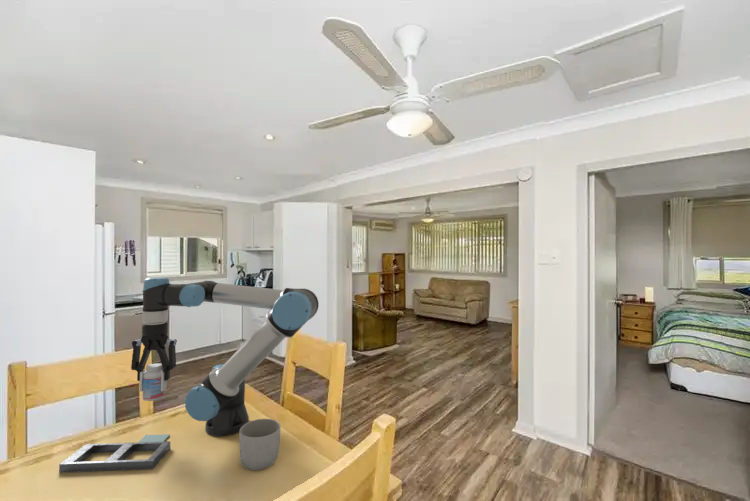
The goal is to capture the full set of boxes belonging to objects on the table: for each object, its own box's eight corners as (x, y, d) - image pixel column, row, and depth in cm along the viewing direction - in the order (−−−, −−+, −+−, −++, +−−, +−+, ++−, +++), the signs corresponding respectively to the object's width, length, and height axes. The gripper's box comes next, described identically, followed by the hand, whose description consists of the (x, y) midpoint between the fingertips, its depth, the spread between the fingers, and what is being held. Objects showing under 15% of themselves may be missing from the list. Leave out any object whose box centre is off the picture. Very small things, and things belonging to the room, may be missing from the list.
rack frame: (170, 448, 117) (170, 441, 117) (152, 469, 106) (153, 460, 106) (85, 451, 114) (86, 443, 114) (59, 472, 103) (59, 464, 103)
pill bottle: (153, 402, 117) (154, 368, 117) (138, 400, 118) (139, 367, 118) (167, 395, 123) (168, 363, 123) (152, 393, 124) (153, 361, 124)
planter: (237, 455, 114) (238, 422, 114) (276, 448, 118) (277, 415, 119) (239, 478, 102) (240, 441, 102) (282, 469, 107) (283, 433, 107)
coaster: (169, 435, 125) (169, 434, 125) (158, 448, 117) (158, 446, 117) (145, 436, 124) (145, 434, 124) (132, 449, 116) (132, 447, 116)
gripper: (188, 320, 125) (187, 385, 125) (132, 320, 123) (130, 386, 123) (179, 324, 118) (177, 393, 118) (118, 324, 116) (116, 394, 116)
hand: (153, 389), depth 120 cm, fingers closed on pill bottle, 6 cm apart
